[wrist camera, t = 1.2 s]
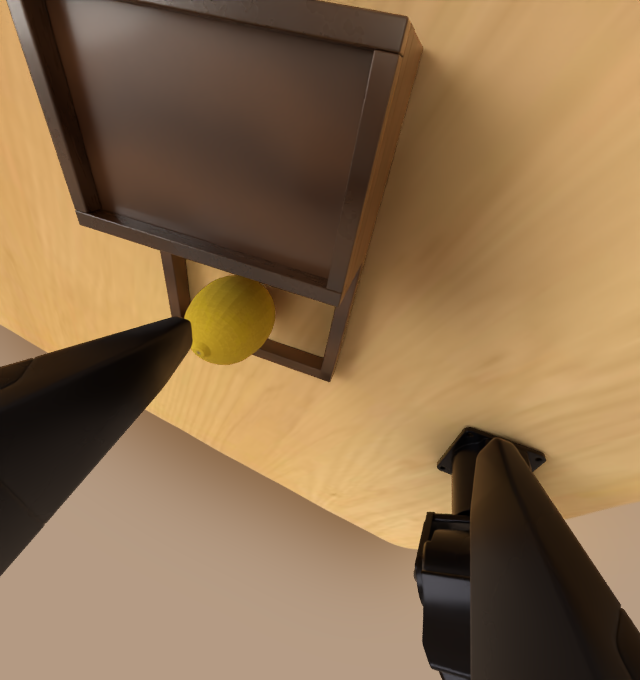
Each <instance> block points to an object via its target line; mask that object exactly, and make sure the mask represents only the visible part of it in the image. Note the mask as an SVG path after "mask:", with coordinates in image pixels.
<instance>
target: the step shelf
mask: <svg viewBox="0 0 640 680" xmlns="http://www.w3.org/2000/svg"><path fill="white" fill-rule="evenodd" d="M6 1H7V4H8V7H9V10H10V13H11V16H12V19H13V22H14V25H15V28H16V31H17V34H18V37H19V40H20V44H21V47H22V50H23V53H24V56H25V59H26V62H27V65H28V68H29V71H30V74H31V77H32V80H33V83H34V86H35V89H36V92H37V95H38V98H39V101H40V104H41V107H42V110H43V113H44V116H45V119H46V122H47V126H48V129H49V132H50V135H51V138H52V141H53V144H54V147H55V150H56V153H57V156H58V159H59V162H60V165H61V168H62V171H63V174H64V177H65V180H66V183H67V186H68V189H69V192H70V195H71V198H72V201H73V204H74V207H75V209H76V211H75V212H76V215H77V218H78V221H79V224H80V225H82V226H86V227H89V228H92V229H95V230H98V231H101V232H104V233H107V234H111V235H114V236H117V237H120V238H123V239H126V240H129V241H132V242H136V243H139V244H142V245H145V246H148V247H151V248H154V249H157V250H160V252H161V258H162V264H163V269H164V275H165V281H166V287H167V292H168V298H169V304H170V310H171V315H172V317H175V316H179V317H182V318H184V316H185V313H186V311H187V309H188V307H189V305H190V296H189V288H188V280H187V272H186V264H185V259H189V260H192V261H195V262H198V263H201V264H204V265H207V266H210V267H214V268H217V269H220V270H223V271H226V272H229V273H232V274H235V275H239V276H242V277H245V278H248V279H251V280H254V281H257V282H260V283H264V284H267V285H270V286H273V287H276V288H279V289H282V290H285V291H289V292H292V293H295V294H298V295H301V296H304V297H307V298H310V299H314V300H317V301H320V302H323V303H326V304H329V305H332V306H335V312H334V316H333V320H332V324H331V329H330V333H329V337H328V342H327V346H326V350H325V354H324V358H321V357H318V356H315V355H312V354H309V353H306V352H303V351H301V350H298V349H295V348H292V347H289V346H286V345H283V344H280V343H277V342H275V341H272V340H269V339H267V340H266V341H265V343H264V344H263V345H262V346H261V347H260V348H259V349H258V350H257V351H256V352H255V353H253V354H252V355H255V356H257V357H260V358H263V359H266V360H269V361H271V362H274V363H277V364H280V365H283V366H285V367H288V368H291V369H294V370H297V371H300V372H302V373H305V374H308V375H311V376H314V377H316V378H319V379H322V380H325V381H328V382H330V381H331V379H332V376H333V374H334V372H335V368H336V365H337V361H338V357H339V354H340V350H341V346H342V343H343V339H344V335H345V332H346V328H347V324H348V321H349V317H350V314H351V310H352V306H353V303H354V299H355V295H356V292H357V288H358V284H359V281H360V277H361V273H362V270H363V266H364V263H365V259H366V254H367V252H368V248H369V244H370V241H371V237H372V233H373V230H374V226H375V222H376V219H377V215H378V211H379V208H380V204H381V200H382V197H383V193H384V190H385V186H386V182H387V179H388V175H389V171H390V168H391V164H392V160H393V157H394V153H395V149H396V146H397V142H398V139H399V135H400V131H401V128H402V124H403V120H404V117H405V113H406V109H407V106H408V102H409V98H410V95H411V91H412V88H413V84H414V80H415V77H416V73H417V69H418V66H419V62H420V58H421V55H422V51H423V46H422V44H421V42H420V41H419V39H418V37H417V35H416V33H415V29H414V27H413V25H412V23H411V22H410V20H409V18H408V17H407V16H404V15H398V14H392V13H387V12H381V11H376V10H370V9H364V8H359V7H353V6H348V5H342V4H336V3H331V2H325V1H320V0H6Z"/></svg>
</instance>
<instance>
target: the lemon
mask: <svg viewBox="0 0 640 680" xmlns="http://www.w3.org/2000/svg"><path fill="white" fill-rule="evenodd" d="M184 319H187V320H189V321H190V322H191V327H192V338H193V343H192V346H191V350H192V351H193V352H194V353H195V354H196V355H197V356H198V357H200V358H202V359H203V360H205V361H207V362H210V363H214V364H218V365H230V364H234V363H237V362H240V361H243V360H244V359H246V358H247V357H249V356H250V355H252V354H253V353H255V352H256V351H257V350H258V349H259V348H260V347H261V346H262V345H263V344H264V343H265V341H266V340H267V338H268V337H269V335H270V333H271V331H272V329H273V325H274V321H275V305H274V302H273V299H272V297H271V295H270V294H269V292H268V291H267V289H266V288H265V287H264V286H263V285H262V284H260V283H259V282H257V281H254V280H251V279H248V278H245V277H242V276H239V275H231V276H226V277H223V278H219V279H217V280H215V281H213V282H211V283H210V284H208V285H207V286H206V287H204V288H203V289H202V290H201V291H200V292H199V293H198V294H197V295H196V296H195V297H194V299H193V300H192V302H191V304H190V305H189V307H188V309H187V311H186V313H185V316H184Z"/></svg>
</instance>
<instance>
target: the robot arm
mask: <svg viewBox="0 0 640 680" xmlns="http://www.w3.org/2000/svg"><path fill="white" fill-rule="evenodd" d="M192 343H193V338H192V327H191V322H190V321H189V320H187V319H184V318H182V317H179V316H175V317H171V318H167V319H164V320H161V321H157V322H154V323H150V324H147V325H143V326H140V327H137V328H133V329H130V330H126V331H123V332H119V333H116V334H113V335H109V336H106V337H102V338H99V339H95V340H92V341H88V342H85V343H82V344H78V345H75V346H71V347H68V348H64V349H61V350H58V351H54V352H51V353H47V354H44V355H41V356H37V357H35V358H34V359H33V358H30V359H27V360H23V361H20V362H16V363H13V364H9V365H6V366H2V367H0V576H1V575H2V574H3V573H4V571H5V570H6V569H7V568H8V567H9V566H10V564H11V563H12V562H13V561H14V560H15V559H16V558H17V556H18V555H19V554H20V553H21V552H22V551H23V549H24V548H25V547H26V546H27V545H28V544H29V543H30V541H31V540H32V539H33V538H34V537H35V536H36V535H37V533H38V532H39V531H40V530H41V529H42V528H43V526H44V525H45V523H47V522H48V520H49V519H50V518H51V517H52V516H53V515H54V513H55V512H56V511H57V510H58V509H59V508H60V506H61V505H62V504H63V503H64V502H65V501H66V500H67V498H68V497H69V496H70V495H71V494H72V493H73V491H74V490H75V489H76V488H77V487H78V486H79V485H80V483H81V482H82V481H83V480H84V479H85V478H86V476H87V475H88V474H89V473H90V472H91V471H92V469H93V468H94V467H95V466H96V465H97V464H98V463H99V461H100V460H101V459H102V458H103V457H104V456H105V455H106V453H107V452H108V451H109V450H110V449H111V448H112V446H113V445H114V444H115V443H116V442H117V441H118V440H119V438H120V437H121V436H122V435H123V434H124V433H125V431H126V430H127V429H128V428H129V427H130V426H131V425H132V423H133V422H134V421H135V420H136V419H137V418H138V416H139V415H140V414H141V413H142V412H143V411H144V409H145V408H146V407H147V406H148V405H149V404H150V403H151V401H152V400H153V399H154V398H155V397H156V396H157V394H158V393H159V392H160V391H161V390H162V388H163V387H164V386H165V384H166V383H167V382H168V380H169V379H170V377H171V376H172V375H173V373H174V372H175V370H176V369H177V367H178V366H179V364H180V363H181V361H182V360H183V359H184V357H185V356H186V354H187V353H188V351H189V350H190V348H191V346H192ZM545 461H546V458H545V455H544V453H542V452H539V451H536V450H534V449H531V448H528V447H525V446H522V445H520V444H517V443H514V442H511V441H508V440H505V439H503V438H500V437H497V436H494V435H491V434H488V433H486V432H483V431H480V430H477V429H474V428H471V427H466V428H464V429H463V430H462V432H461V433H460V434H459V436H458V437H457V438H456V439H455V441H454V442H453V443H452V444H451V446H450V447H449V448H448V450H447V451H446V452H445V453H444V455H443V456H442V457H441V458H440V460H439V461H438V462H437V468H438V469H439V470H441V471H443V472H446V473H448V474H451V475H452V514H438V513H435V512H427V515H426V520H425V522H424V525H423V530H422V534H421V539H420V543H419V548H418V552H417V557H416V561H415V570H414V578H415V581H416V582H417V587H418V593H419V597H420V600H421V603H422V605H423V637H422V638H423V639H422V642H423V647H424V650H425V653H426V656H427V659H428V662H429V664H430V666H431V668H432V669H434V670H437V671H439V673H440V675H441V678H442V680H640V633H639V631H638V629H637V628H636V627H635V625H634V624H633V622H632V621H631V619H630V618H629V616H628V615H627V613H626V612H625V610H624V609H622V608H621V605H620V603H619V601H618V600H617V598H616V597H615V595H614V594H613V592H612V591H611V590H610V588H609V586H608V585H607V584H606V582H605V580H604V579H603V577H602V576H601V574H600V573H599V571H598V570H597V568H596V567H595V565H594V564H593V562H592V561H591V559H590V558H589V556H588V555H587V553H586V552H585V550H584V549H583V547H582V546H581V544H580V543H579V542H578V540H577V538H576V537H575V535H574V534H573V532H572V531H571V529H570V528H569V526H568V525H567V523H566V522H565V520H564V519H563V517H562V516H561V514H560V513H559V511H558V510H557V508H556V507H555V505H554V504H553V502H552V501H551V499H550V498H549V496H548V495H547V493H546V492H545V490H544V489H543V487H542V486H541V484H540V483H539V481H538V480H537V478H536V477H535V475H534V474H533V471H535V470H536V469H537V468H538V467H539V466H541V465H542V464H543V463H544V462H545Z"/></svg>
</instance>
